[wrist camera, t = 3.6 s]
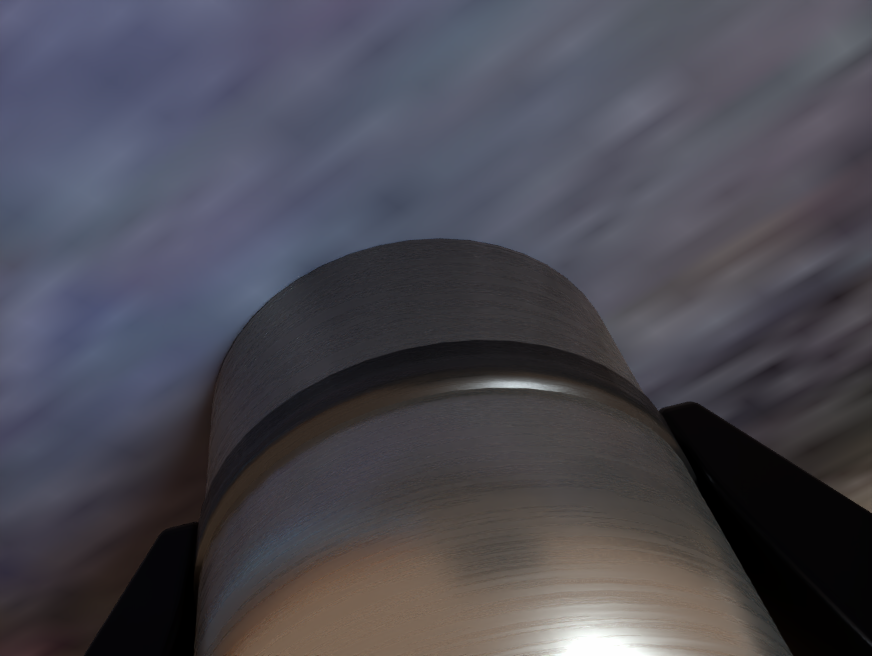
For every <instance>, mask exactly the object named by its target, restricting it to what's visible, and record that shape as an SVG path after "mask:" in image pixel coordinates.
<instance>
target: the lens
mask: <svg viewBox="0 0 872 656" xmlns="http://www.w3.org/2000/svg"><path fill="white" fill-rule="evenodd" d="M194 605H195V610H196V614H197V616H196V630H195V643H194V656H793V655H792V653H791V651H790V650H789V648H788V646H787V644H786V643H785V641H784V639H783V637H782V636H781V634H780V632H779V630H778V629H777V627H776V625H775V623H774V622H773V620H772V618H771V616H770V615H769V613H768V611H767V609H766V607H765V606H764V604H763V602H762V600H761V599H760V597H759V595H758V593H757V592H756V590H755V588H754V586H753V585H752V583H751V581H750V579H749V578H748V576H747V574H746V572H745V571H744V569H743V567H742V565H741V564H740V562H739V560H738V558H737V557H736V555H735V553H734V551H733V549H732V548H731V546H730V544H729V542H728V541H727V539H726V537H725V535H724V534H723V532H722V530H721V528H720V527H719V525H718V523H717V521H716V520H715V518H714V516H713V514H712V513H711V511H710V509H709V507H708V506H707V504H706V502H705V500H704V499H703V497H702V495H701V491H700V488H699V484H698V480H697V477H696V475H695V473H694V471H693V469H692V467H691V465H690V463H689V462H688V460H687V458H686V456H685V454H684V452H683V451H682V449H681V447H680V446H679V444H678V442H677V440H676V439H675V437H674V435H673V433H672V432H671V430H670V428H669V427H668V425H667V423H666V421H665V420H664V418H663V416H662V415H661V414H660V412H659V411H658V410H657V408H656V407H655V406H654V405H653V403H652V402H651V401H650V400H649V398H648V397H647V396H646V395H644V393H643V391H642V390H641V388H640V386H639V384H638V382H637V381H636V379H635V377H634V375H633V374H632V372H631V370H630V368H629V367H628V365H627V363H626V361H625V360H624V358H623V356H622V354H621V353H620V351H619V349H618V347H617V346H616V344H615V342H614V340H613V339H612V337H611V335H610V333H609V331H608V330H607V328H606V326H605V324H604V323H603V321H602V319H601V317H600V316H599V314H598V312H597V311H596V309H595V308H594V307H593V305H592V304H591V303H590V301H589V300H588V299H587V298H586V296H585V295H584V294H583V293H582V292H581V291H580V290H579V289H578V288H577V287H576V286H575V285H574V284H572V283H571V282H570V281H569V280H568V279H567V278H566V277H564V276H563V275H561V274H560V273H558V272H557V271H555V270H554V269H552V268H551V267H549V266H548V265H546V264H544V263H542V262H540V261H538V260H536V259H534V258H532V257H530V256H527V255H525V254H523V253H520V252H517V251H514V250H511V249H508V248H504V247H501V246H498V245H493V244H488V243H482V242H477V241H471V240H458V239H441V238H439V239H422V240H408V241H402V242H396V243H391V244H385V245H379V246H376V247H372V248H369V249H366V250H362V251H359V252H355V253H352V254H349V255H347V256H344V257H342V258H339V259H337V260H335V261H332V262H330V263H328V264H325V265H323V266H321V267H319V268H317V269H315V270H314V271H312V272H310V273H308V274H307V275H305V276H303V277H301V278H300V279H298V280H296V281H295V282H293V283H292V284H291V285H289V286H288V287H287V288H285V289H284V290H283V291H281V292H280V293H279V294H277V295H276V296H274V297H273V298H272V299H271V300H270V301H269V302H268V303H267V304H266V305H265V306H264V307H263V308H262V309H261V310H260V311H259V312H258V313H256V314H255V315H254V316H253V317H252V319H251V320H250V321H249V323H248V324H247V325H246V326H245V328H244V329H243V330H242V332H241V333H240V334H239V335H238V337H237V338H236V340H235V342H234V343H233V345H232V347H231V349H230V350H229V352H228V354H227V356H226V357H225V359H224V362H223V365H222V367H221V370H220V373H219V376H218V378H217V381H216V386H215V392H214V397H213V402H212V415H211V428H210V442H209V455H208V469H207V482H206V495H205V500H204V502H203V505H202V510H201V515H200V520H199V525H198V531H197V544H196V556H195V568H194Z"/></svg>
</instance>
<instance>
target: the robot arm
mask: <svg viewBox="0 0 872 656" xmlns="http://www.w3.org/2000/svg"><path fill="white" fill-rule="evenodd" d="M659 412H660V414H661V415H662V416H663V418H664V420H665V421H666V423H667V425H668V427H669V428H670V430H671V432H672V433H673V435H674V437H675V439H676V440H677V442H678V444H679V446H680V447H681V449H682V451H683V452H684V454H685V456H686V458H687V460H688V462H689V463H690V465H691V467H692V469H693V471H694V473H695V475H696V477H697V480H698V484H699V488H700V491H701V495H702V497H703V499H704V500H705V502H706V504H707V506H708V507H709V509H710V511H711V513H712V514H713V516H714V518H715V520H716V521H717V523H718V525H719V527H720V528H721V530H722V532H723V534H724V535H725V537H726V539H727V541H728V542H729V544H730V546H731V548H732V549H733V551H734V553H735V555H736V557H737V558H738V560H739V562H740V564H741V565H742V567H743V569H744V571H745V572H746V574H747V576H748V578H749V579H750V581H751V583H752V585H753V586H754V588H755V590H756V592H757V593H758V595H759V597H760V599H761V600H762V602H763V604H764V606H765V607H766V609H767V611H768V613H769V615H770V616H771V618H772V620H773V622H774V623H775V625H776V627H777V629H778V630H779V632H780V634H781V636H782V637H783V639H784V641H785V643H786V644H787V646H788V648H789V650H790V651H791V653H792V655H793V656H872V513H870V512H869V511H867V510H866V509H864V508H863V507H861V506H859V505H858V504H856V503H855V502H853V501H852V500H850V499H848V498H847V497H845V496H844V495H842V494H840V493H839V492H837V491H836V490H834V489H833V488H831V487H829V486H828V485H826V484H825V483H823V482H822V481H820V480H818V479H817V478H815V477H814V476H812V475H810V474H809V473H807V472H806V471H804V470H803V469H801V468H799V467H798V466H796V465H795V464H793V463H792V462H790V461H788V460H787V459H785V458H784V457H782V456H780V455H779V454H777V453H776V452H774V451H773V450H771V449H769V448H768V447H766V446H765V445H763V444H762V443H760V442H758V441H757V440H755V439H754V438H752V437H750V436H749V435H747V434H746V433H744V432H743V431H741V430H739V429H738V428H736V427H735V426H733V425H731V424H730V423H728V422H727V421H725V420H724V419H722V418H720V417H719V416H717V415H716V414H714V413H713V412H711V411H709V410H708V409H706V408H705V407H703V406H701V405H700V404H698V403H695V402H685V403H681V404H676V405H672V406H668V407H664V408H662V409H660V410H659ZM198 525H199V522H192V523H188V524H184V525H180V526H176V527H172V528H168V529H166V530H164V531H163V532H162V533H161V534H160V535H159V536H158V538H157V540H156V541H155V543H154V544H153V546H152V548H151V549H150V551H149V552H148V554H147V556H146V557H145V559H144V560H143V562H142V564H141V565H140V567H139V568H138V570H137V572H136V573H135V575H134V576H133V578H132V580H131V581H130V583H129V584H128V586H127V587H126V589H125V591H124V592H123V594H122V595H121V597H120V599H119V600H118V602H117V603H116V605H115V607H114V608H113V610H112V611H111V613H110V615H109V616H108V618H107V619H106V621H105V623H104V624H103V626H102V627H101V629H100V631H99V632H98V634H97V635H96V637H95V639H94V640H93V642H92V643H91V645H90V647H89V648H88V650H87V651H86V653H85V655H84V656H194V643H195V630H196V616H197V614H196V610H195V605H194V568H195V556H196V544H197V531H198Z"/></svg>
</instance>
